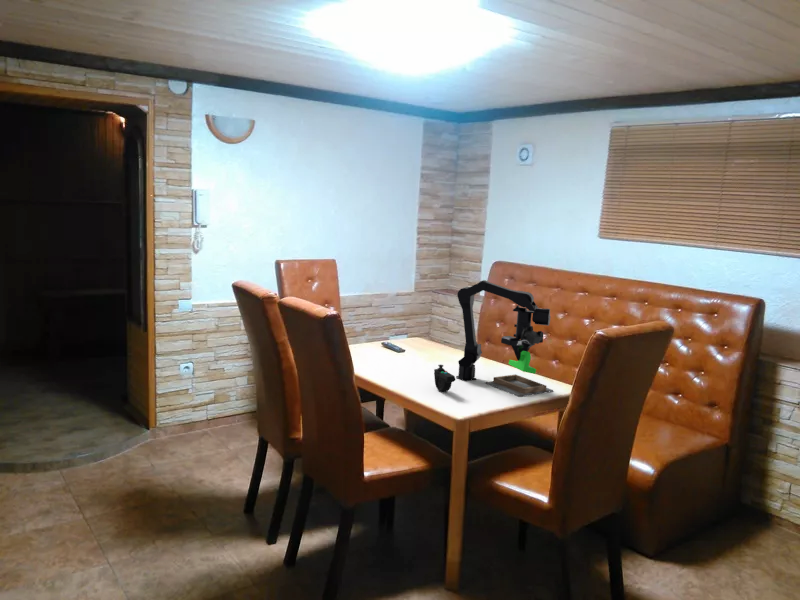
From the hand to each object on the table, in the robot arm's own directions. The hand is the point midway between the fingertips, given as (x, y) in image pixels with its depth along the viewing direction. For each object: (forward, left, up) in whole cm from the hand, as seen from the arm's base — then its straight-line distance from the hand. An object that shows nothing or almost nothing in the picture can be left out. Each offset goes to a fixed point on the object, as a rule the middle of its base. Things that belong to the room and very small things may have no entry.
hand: (520, 359), depth 256 cm
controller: (-34, +6, -12) cm, 37 cm away
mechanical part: (+1, 0, -4) cm, 4 cm away
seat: (0, -1, -12) cm, 12 cm away
